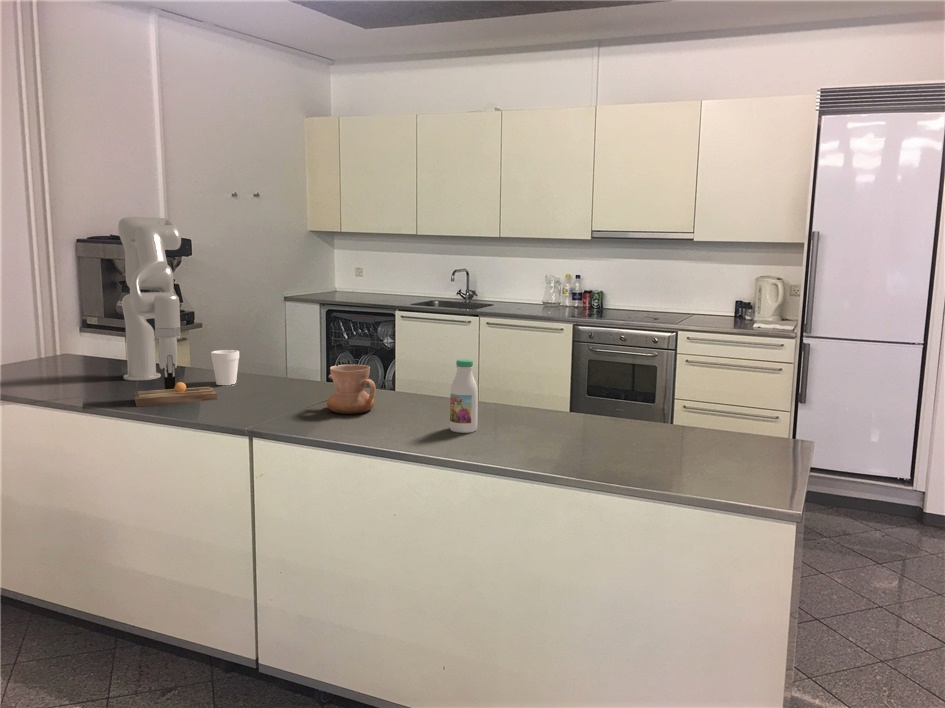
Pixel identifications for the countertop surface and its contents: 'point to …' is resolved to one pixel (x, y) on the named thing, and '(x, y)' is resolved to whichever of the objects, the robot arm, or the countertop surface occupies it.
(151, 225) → the robot arm
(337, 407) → the ceramic jug
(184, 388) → the ball
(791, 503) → the countertop surface
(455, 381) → the milk bottle
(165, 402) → the runway
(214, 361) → the foam cup
